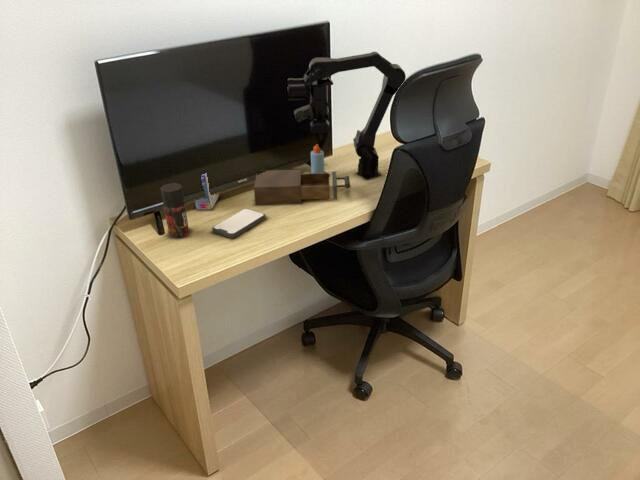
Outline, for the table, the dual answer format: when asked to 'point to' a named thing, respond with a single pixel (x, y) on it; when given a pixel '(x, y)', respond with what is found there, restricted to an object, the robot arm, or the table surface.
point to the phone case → (238, 223)
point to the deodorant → (175, 210)
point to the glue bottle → (317, 160)
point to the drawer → (320, 185)
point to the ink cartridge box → (206, 196)
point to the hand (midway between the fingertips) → (320, 143)
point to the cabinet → (278, 187)
